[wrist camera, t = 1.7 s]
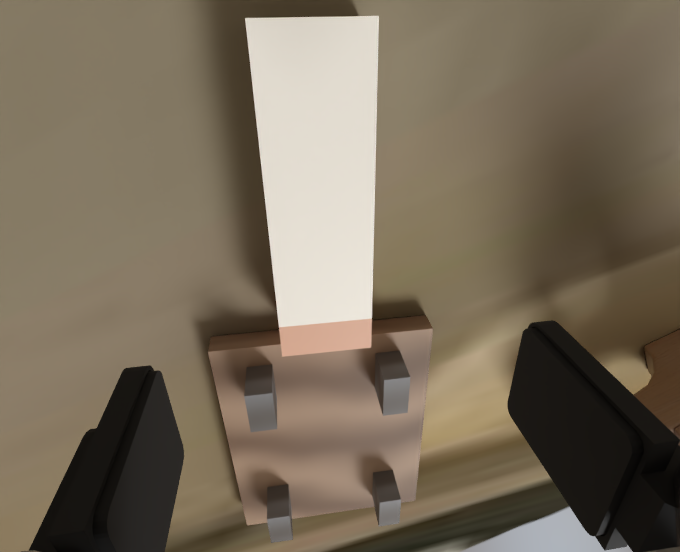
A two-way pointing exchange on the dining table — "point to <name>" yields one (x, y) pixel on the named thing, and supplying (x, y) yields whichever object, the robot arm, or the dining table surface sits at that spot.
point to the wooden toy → (663, 381)
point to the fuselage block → (318, 173)
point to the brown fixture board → (324, 423)
